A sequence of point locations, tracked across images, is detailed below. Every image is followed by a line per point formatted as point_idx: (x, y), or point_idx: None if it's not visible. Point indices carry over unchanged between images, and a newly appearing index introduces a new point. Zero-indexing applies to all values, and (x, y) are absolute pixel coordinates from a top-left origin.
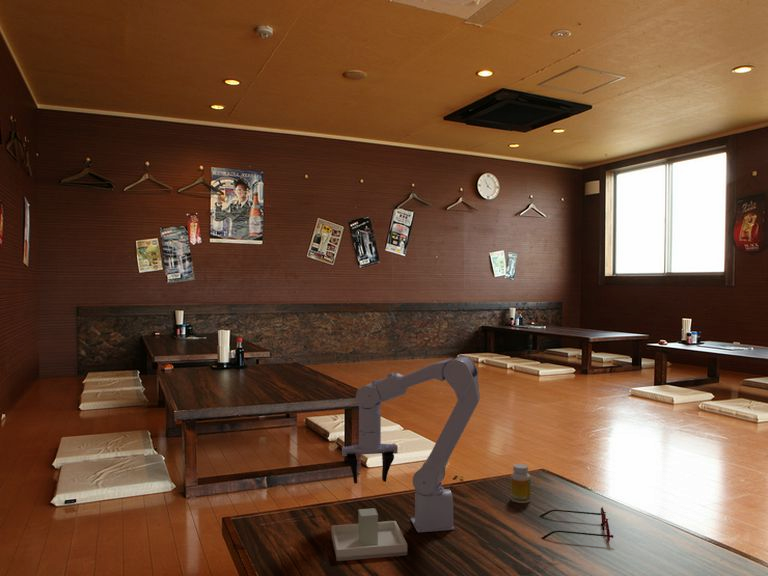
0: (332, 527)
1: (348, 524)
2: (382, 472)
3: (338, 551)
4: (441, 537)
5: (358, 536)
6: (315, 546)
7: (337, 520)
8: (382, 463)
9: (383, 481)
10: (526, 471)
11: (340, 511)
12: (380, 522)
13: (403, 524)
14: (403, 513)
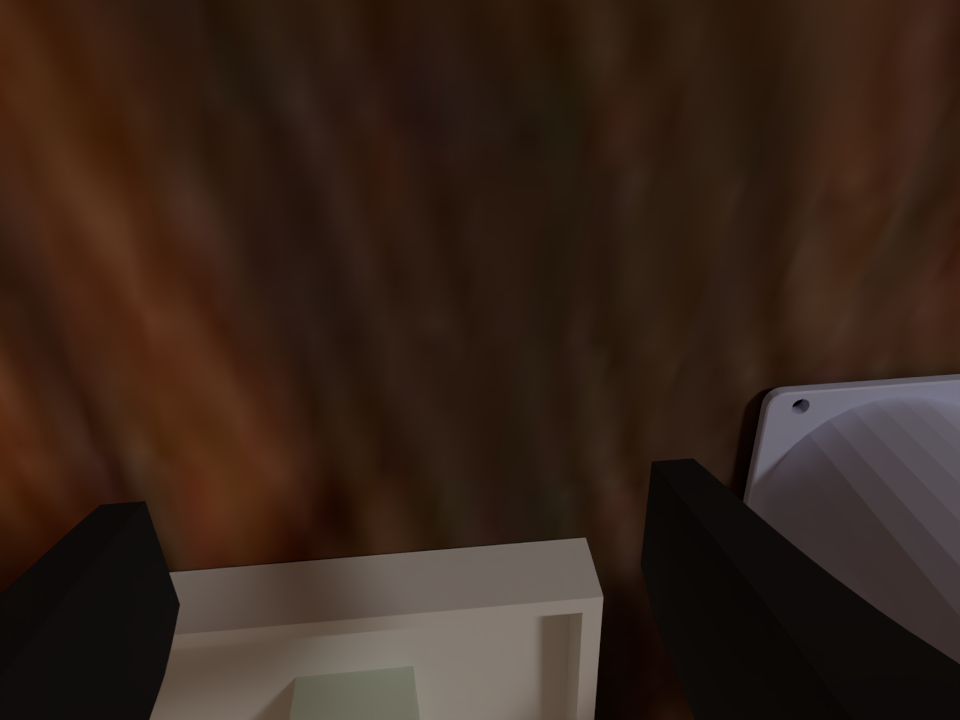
0: None
1: (199, 635)
2: (701, 553)
3: None
4: None
5: (294, 694)
6: None
7: (76, 322)
8: (810, 669)
9: (642, 558)
10: None
11: (61, 84)
12: (473, 616)
13: (677, 446)
14: (761, 231)
